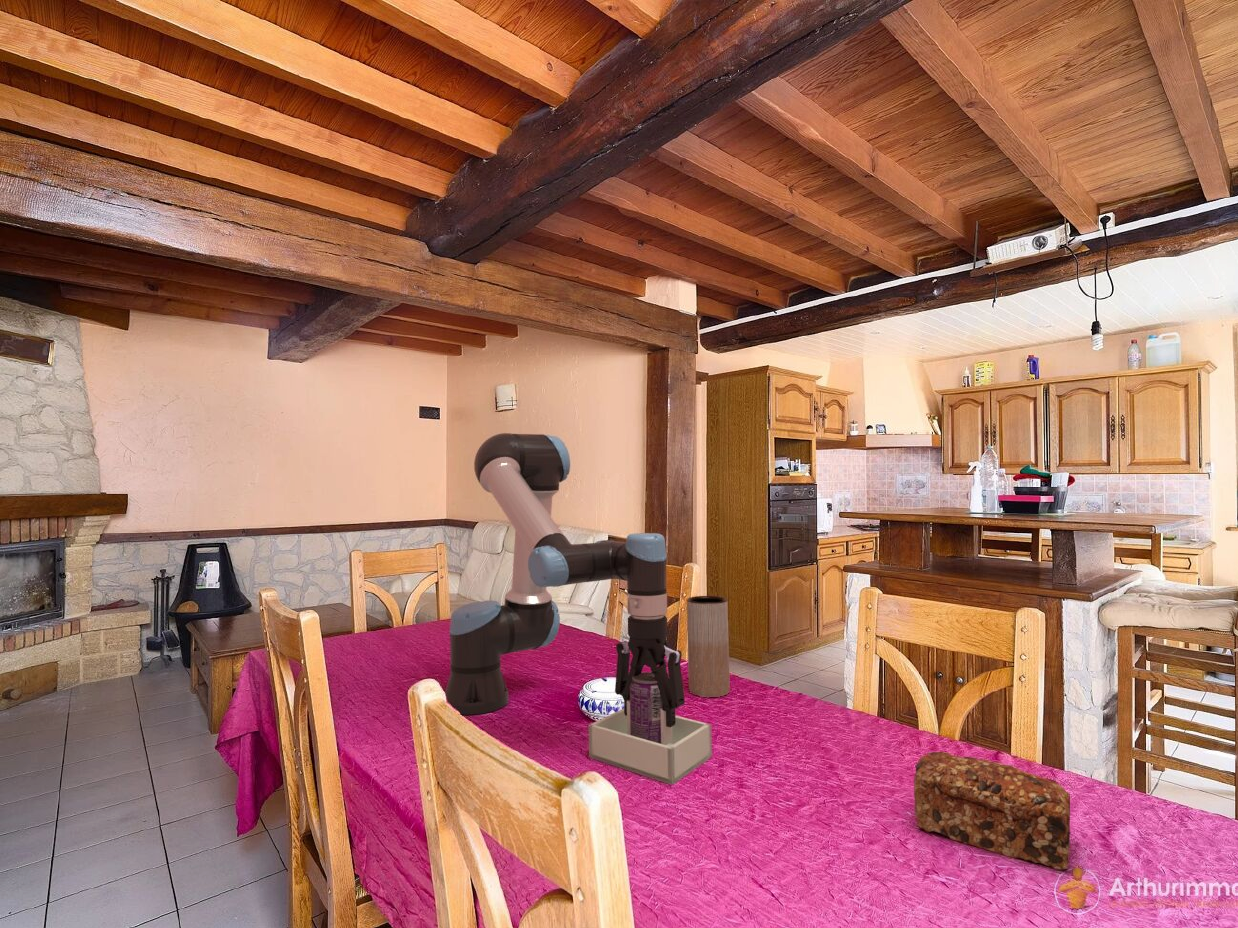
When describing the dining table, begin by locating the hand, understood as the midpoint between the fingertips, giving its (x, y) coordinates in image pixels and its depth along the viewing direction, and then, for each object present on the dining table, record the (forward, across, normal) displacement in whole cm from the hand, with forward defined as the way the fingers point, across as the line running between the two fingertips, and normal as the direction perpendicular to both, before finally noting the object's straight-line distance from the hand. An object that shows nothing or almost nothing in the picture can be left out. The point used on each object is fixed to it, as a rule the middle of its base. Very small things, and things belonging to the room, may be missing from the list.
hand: (649, 738), depth 117 cm
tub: (+4, 0, 0) cm, 4 cm away
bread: (+4, +55, +7) cm, 55 cm away
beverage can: (+1, 0, 0) cm, 1 cm away
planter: (+4, -9, +39) cm, 40 cm away
